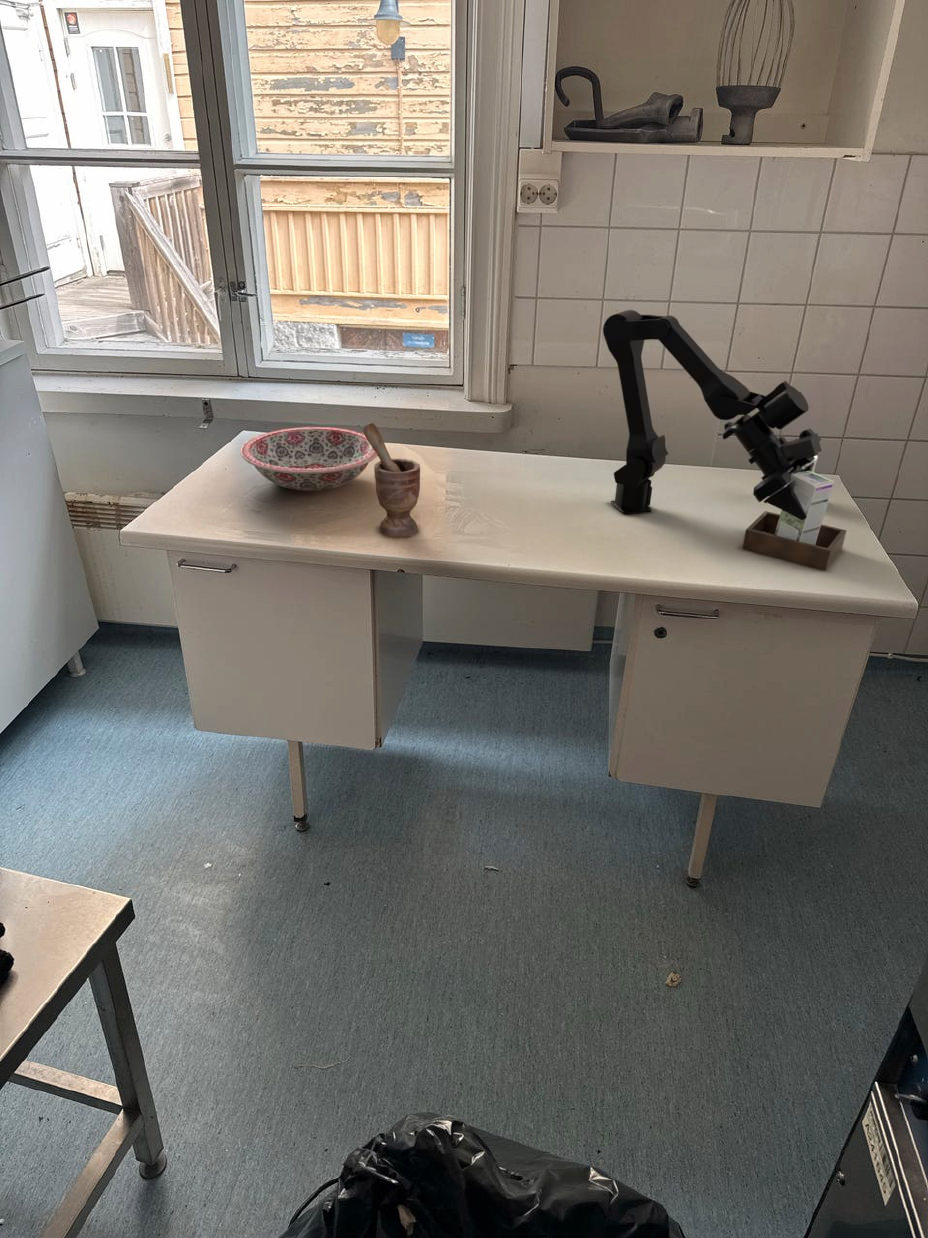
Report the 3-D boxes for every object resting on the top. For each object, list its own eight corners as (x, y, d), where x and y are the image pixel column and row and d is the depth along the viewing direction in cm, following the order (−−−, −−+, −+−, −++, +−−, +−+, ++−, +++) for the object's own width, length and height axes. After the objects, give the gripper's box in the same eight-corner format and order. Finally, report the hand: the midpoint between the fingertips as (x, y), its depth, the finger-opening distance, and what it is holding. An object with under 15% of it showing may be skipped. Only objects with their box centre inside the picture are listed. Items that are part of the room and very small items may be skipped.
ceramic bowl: (218, 479, 196) (214, 443, 192) (330, 452, 213) (328, 418, 209) (292, 520, 177) (290, 481, 173) (408, 487, 195) (408, 451, 191)
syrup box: (814, 551, 172) (836, 480, 164) (793, 557, 169) (815, 484, 161) (790, 539, 176) (811, 469, 168) (770, 544, 173) (790, 473, 165)
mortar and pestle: (354, 534, 172) (351, 432, 163) (368, 517, 180) (366, 418, 170) (413, 541, 170) (413, 438, 161) (424, 523, 178) (425, 424, 168)
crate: (741, 548, 172) (745, 529, 170) (761, 529, 180) (765, 510, 178) (825, 570, 164) (830, 550, 162) (841, 549, 173) (846, 530, 171)
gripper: (782, 430, 155) (835, 503, 155) (812, 406, 169) (862, 474, 169) (730, 466, 163) (782, 536, 162) (764, 441, 176) (811, 505, 176)
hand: (811, 511), depth 167 cm, fingers open, 8 cm apart
